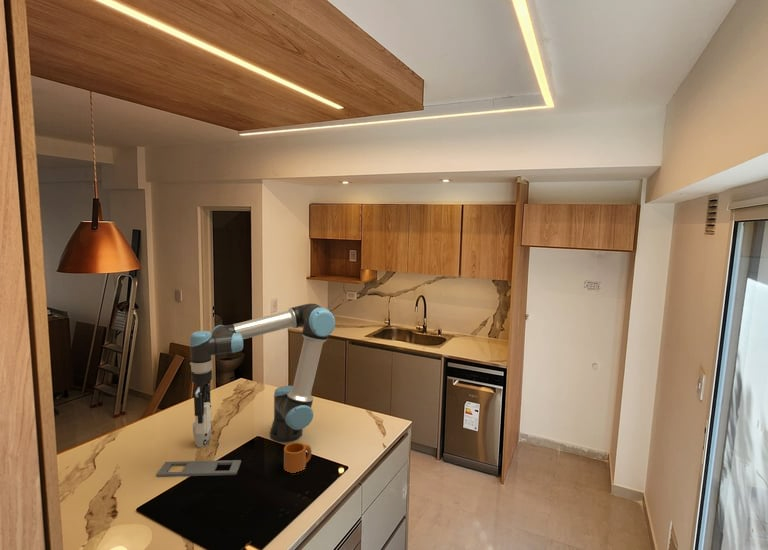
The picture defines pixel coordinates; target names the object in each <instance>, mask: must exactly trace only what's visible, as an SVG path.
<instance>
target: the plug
mask: <svg viewBox="0 0 768 550" xmlns="http://www.w3.org/2000/svg"><path fill="white" fill-rule="evenodd" d="M210 402H211V401H210ZM210 402H204V414H205V430H202V431H198V428H197V416H195V415H194V417H195V419H194V420H195V421H194V422H195V423H196V434H205V433H208V432H209V430H210V429H211V421H212V419H211V408H210V405H211V403H210ZM194 411H195V408H194Z"/></svg>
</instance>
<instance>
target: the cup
mask: <svg viewBox="0 0 768 550" xmlns="http://www.w3.org/2000/svg"><path fill="white" fill-rule="evenodd" d="M191 425H192V434H193V439H194V443H195V445H196V447H198V448H205V447H207V446H208V445H209V444H210V441H211V438H212V433H213V432H212V431H213V420H211V429H210V430H209V432H208V433H205V434H196V423H195V421H194V422H192V424H191Z"/></svg>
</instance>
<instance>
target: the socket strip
mask: <svg viewBox="0 0 768 550" xmlns="http://www.w3.org/2000/svg"><path fill="white" fill-rule="evenodd" d="M241 463H242V460H241V459H233V460H227V459H226V460H223V459H222V460H189V461H188V460H184V461H183V460H182V461H181V460H179V461H178V460H176V461H165V462H164V463H163V464H162V465H161V467H160V468H159V470H158V471H157V473H156V478H159V477H160V478H161V477H163V478H164V477H165V478H167V477H169V478H170V477H198V476H199V477H200V476H201V477H202V476H203V477H204V476H209V477H210V476H236V475H237V474H238V471H239V469H240V466H241ZM219 465H220V466H223V465H224V466H229V465H230V468H229V470H216V469H217V467H218V466H219ZM174 466H175V467H178V466H180V467H182V466H183V467H184V468H183V469H182V471H170V469H171V468H172V467H174Z"/></svg>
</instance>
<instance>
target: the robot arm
mask: <svg viewBox="0 0 768 550" xmlns="http://www.w3.org/2000/svg"><path fill="white" fill-rule="evenodd" d="M288 328H293V329H296V328H297V329H298V328H302V332H301V335H302V337H303V342H302V347H301V351H300V355H299V359H298V363H297V367H296V372H295V376H294V380H293V384H292V385H284V386H279V387H278V388H277V387H276V388H275V389H274V395H273V402H274V403H273V421H272V423H271V427H270V430H269V437H270V439H272V440H273V441H275V442H280V443H288V442H290V443H291V442H294V441H296V440H298V439H300V438H301V437H302V435H303V431H304V430H303V429H305V428H307V426H309V425H310V424H311V423H312V421H313V419H314V410H313V409H312V406H313V401H314V397H313V395H312V390H313V387H314V382H315V378H316V376H317V375H316V374H317V370H318V366H319V362H320V358H321V357H320V356H321V354H322V350H323V346H324V343H325V342H326V341H328V339H329V336H330V334H332V333H333V331H334V329H335V328H336V318H335V316H334V314H333V313H332V312H331V311H330V310H329V309H328V308H325V307H323V306H322V305H321V306H320V305H319V304H317V303H305V304H301V305H297V306H294V307H289V308H288V310H286V311H282V312H278V313H275V314H269V315H265V316H261V317H257V318H254V319H253V318H252V319H248V320H246V321H242V322H238V323H233V324H232V323H231V324H229V325H224V324H218V325H216V326H214V327H213V328H212V330H211V331H208V330H199V331H194V332H192V333H191V334H190V336H189V342H190V343H189V351H190V362H189V365H190V368H191V369H190V371H191V373H190V374H191V375H190V376H191V378H190V379H191V382H192V383H194V384H196V385H195V388H194V389H195V392H193V393H192V396H193V403H194V406H193V407H194V408H195V410H194V417H195V416H197V428H198V431H202V430H205V414H204V402H210V409H211V408H212V405H211V381H212V380H213V370H212V369H213V361H212V359H213V358H212V356H215V355H216V356H217V355H222V354H232V353H233V354H234V353H237V352H242V350H243V349H244V340H245V339H247V340H248V339H249V338H250V339H251V338H253V337H257V336H261V335H267V334H268V333H269V334H270V333H274V332H277V331H280V330H285V329H288Z"/></svg>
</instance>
